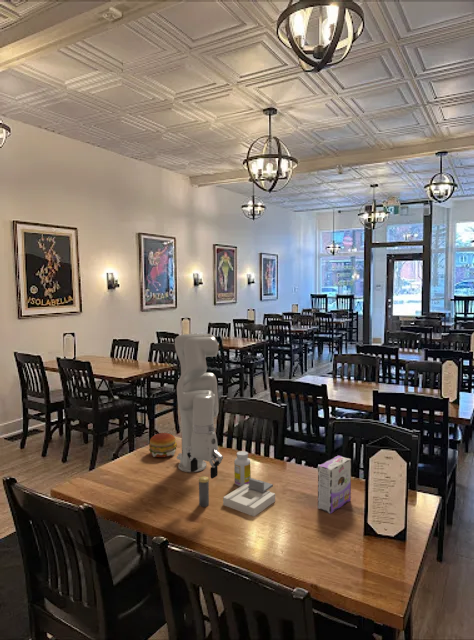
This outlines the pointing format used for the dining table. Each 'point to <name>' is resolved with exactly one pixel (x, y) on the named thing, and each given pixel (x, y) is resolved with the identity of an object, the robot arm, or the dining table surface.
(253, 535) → the dining table surface
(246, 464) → the supplement bottle
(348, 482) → the candy box
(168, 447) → the burger
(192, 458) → the robot arm
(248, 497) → the socket
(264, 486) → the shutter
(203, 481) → the plug
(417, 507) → the dining table surface
